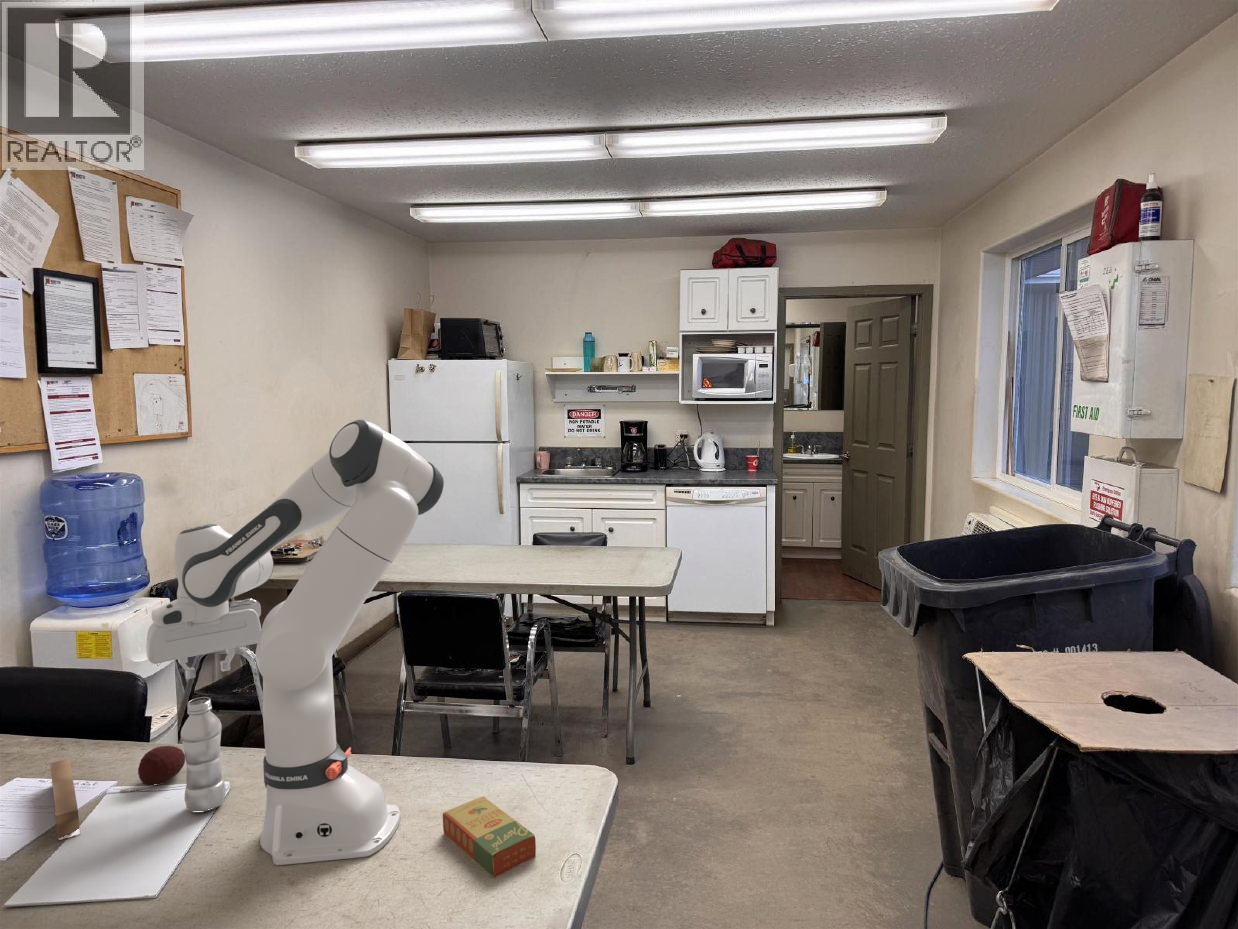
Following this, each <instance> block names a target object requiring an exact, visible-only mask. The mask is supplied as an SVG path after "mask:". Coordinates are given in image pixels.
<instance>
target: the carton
mask: <svg viewBox="0 0 1238 929" xmlns="http://www.w3.org/2000/svg"><path fill="white" fill-rule="evenodd" d="M442 829H443V834H444V835H445V837H447V839H448V840H450V842H452V843H453V844H454V845H455V846H456V847H458V848H459V849H460V850H461V851H462V853H464V854H465V855H467V856H468V857H469V858H470V859H471V860H472V861H473V862H474V863H475V864H476V865H478V866H479V867H480V868H481V869H482V870H483V871H484V872H485V873H487V875H488V876H489V877H490V878H493V879H494V878H497V877H498V876H499V877H500V875H502V874H504V873H506V872H509V871H510V870H512V869H514V868H517V867H518V866H520V865H522V864H524V863H525V862H527V861H529V860H532V859H533V858H535V857H537V856H536V855H537V854H536V852H537V851H536V849H537V845H536V844H537V843H536V842H537V841H536V836H535V834H534V833H533V832H532V831H530V830H529V829H528V828H526V827H525V826H524V825H523V824H521V823H519V821H518V820H515V819H514V818H513V817H511V816H510V815H509V814H507V813H506V812H505V811H504V810H502V809H501V808H499V807H498V806H497V805H496V804H494V803H493V802H492V801H491V800H489V799H488V798H487V797H485V796H480V797H477V798H475V799H472V800H470V801H466V802H465V803H464V802H463V804H460V805H457V806H456V807H454V808H451V809H449V810H446V811H444V812H442Z"/></svg>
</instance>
